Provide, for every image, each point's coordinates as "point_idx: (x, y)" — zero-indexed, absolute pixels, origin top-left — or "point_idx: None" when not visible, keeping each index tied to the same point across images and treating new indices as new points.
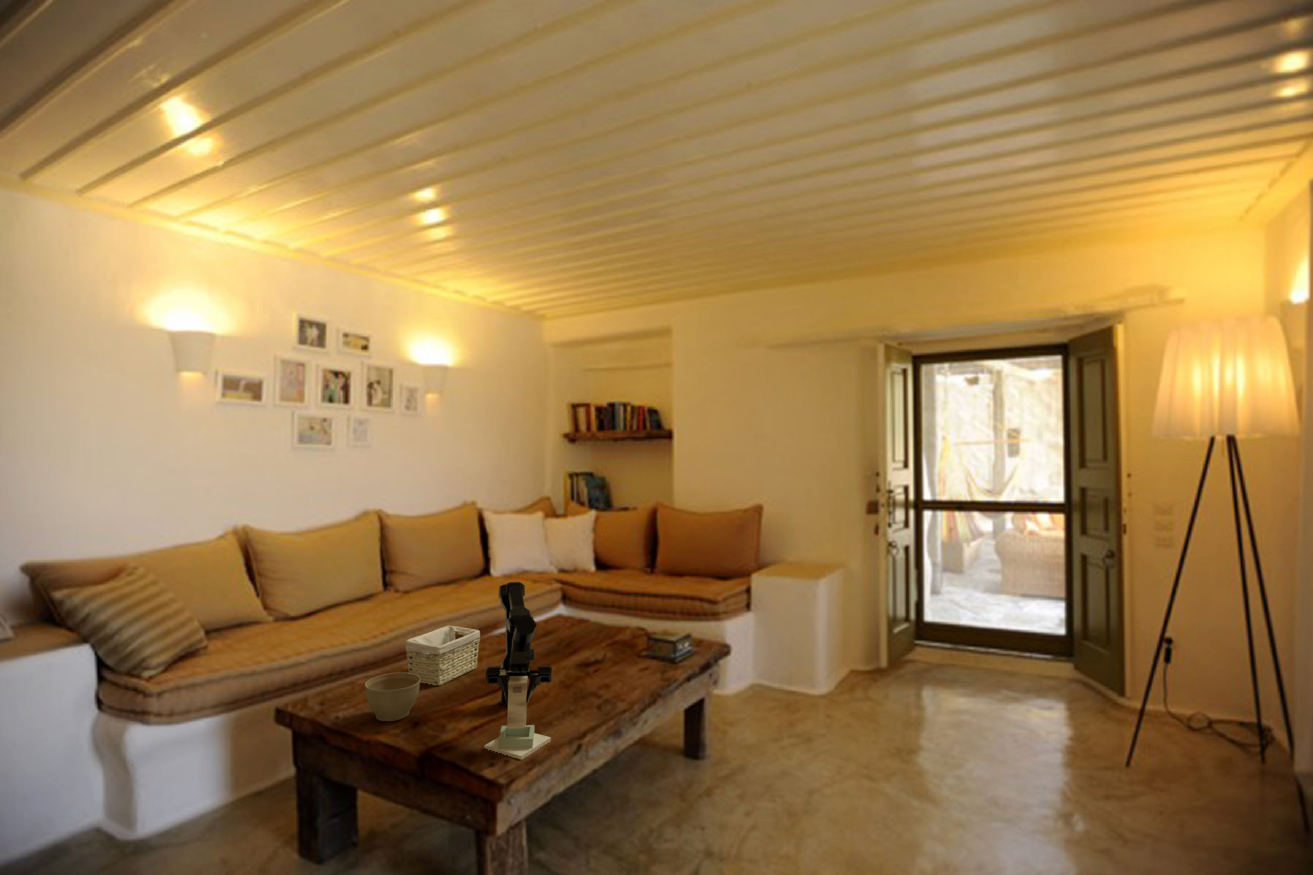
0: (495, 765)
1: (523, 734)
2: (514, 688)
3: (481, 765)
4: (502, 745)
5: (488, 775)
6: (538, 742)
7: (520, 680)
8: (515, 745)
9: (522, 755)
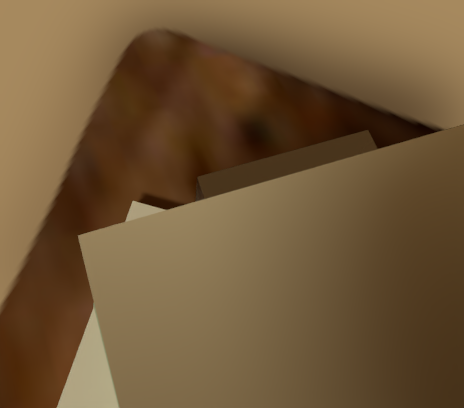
0: (234, 133)
1: None
2: (336, 141)
3: (293, 121)
4: None
5: (224, 55)
6: (88, 395)
7: (345, 337)
8: None
9: (131, 207)
